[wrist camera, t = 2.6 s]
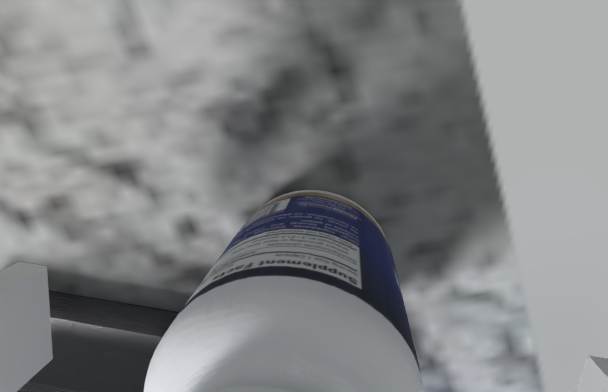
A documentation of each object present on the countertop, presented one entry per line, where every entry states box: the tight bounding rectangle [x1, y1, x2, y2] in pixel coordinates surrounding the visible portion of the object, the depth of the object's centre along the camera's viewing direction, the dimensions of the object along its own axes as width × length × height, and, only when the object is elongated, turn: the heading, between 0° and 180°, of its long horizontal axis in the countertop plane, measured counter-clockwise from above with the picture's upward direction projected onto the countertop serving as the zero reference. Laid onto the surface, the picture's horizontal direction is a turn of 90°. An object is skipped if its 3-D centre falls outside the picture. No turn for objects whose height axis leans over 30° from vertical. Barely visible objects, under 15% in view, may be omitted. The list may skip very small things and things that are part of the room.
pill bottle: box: [144, 190, 424, 392], centre depth 9 cm, size 5×5×10 cm
